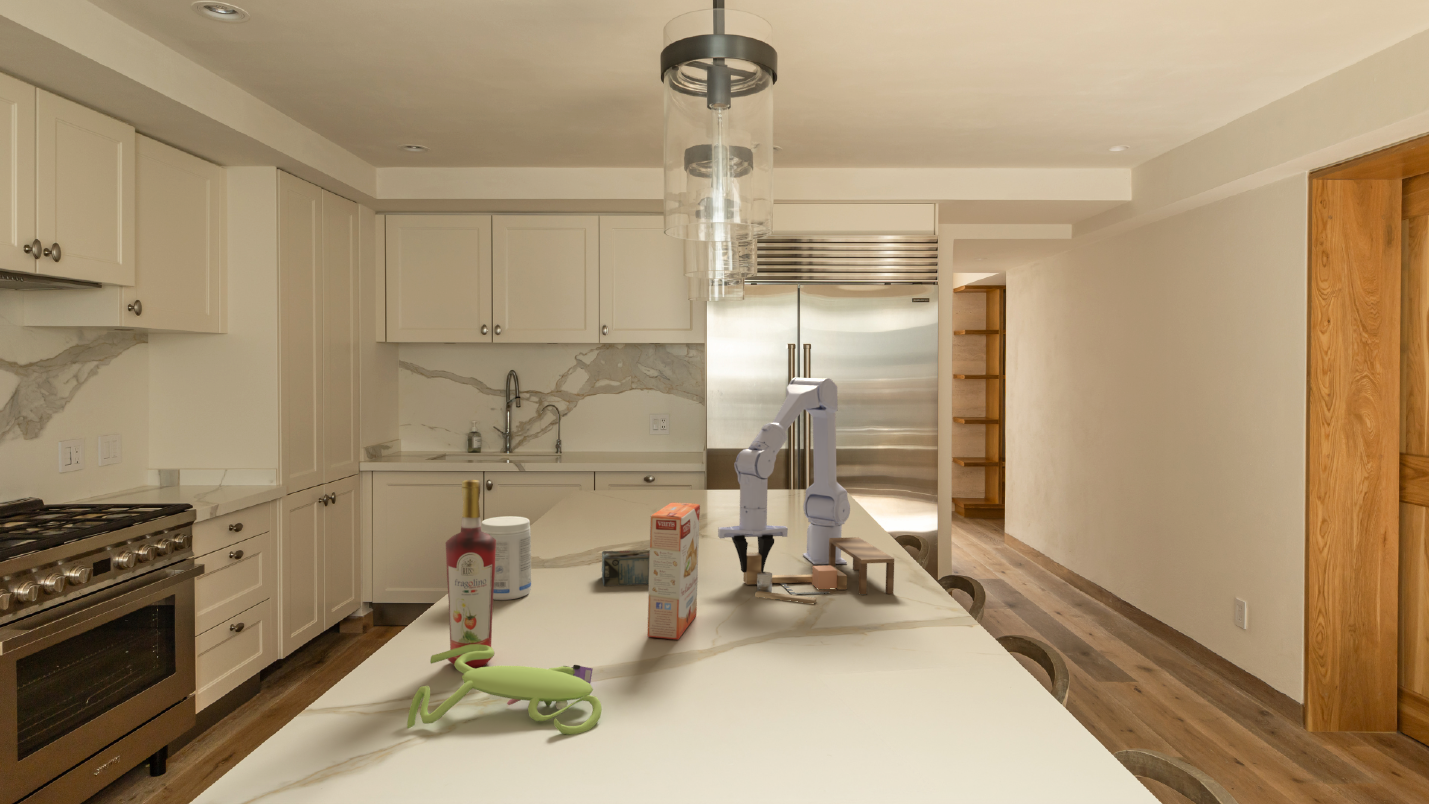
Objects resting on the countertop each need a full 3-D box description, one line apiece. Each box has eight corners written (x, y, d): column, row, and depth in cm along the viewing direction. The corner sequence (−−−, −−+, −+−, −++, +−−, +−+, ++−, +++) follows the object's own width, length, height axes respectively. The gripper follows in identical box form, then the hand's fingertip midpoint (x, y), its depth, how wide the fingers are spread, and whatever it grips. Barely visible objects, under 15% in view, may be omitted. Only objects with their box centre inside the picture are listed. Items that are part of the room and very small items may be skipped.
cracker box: (681, 641, 136) (683, 516, 135) (646, 638, 137) (647, 514, 136) (699, 615, 149) (701, 502, 148) (667, 613, 151) (669, 500, 149)
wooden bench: (828, 569, 184) (829, 538, 184) (857, 568, 185) (858, 537, 185) (860, 594, 164) (861, 559, 164) (893, 593, 166) (894, 558, 165)
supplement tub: (518, 584, 168) (518, 513, 167) (539, 595, 160) (540, 521, 160) (472, 592, 162) (472, 519, 161) (492, 604, 154) (493, 527, 153)
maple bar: (757, 596, 164) (758, 590, 164) (816, 604, 159) (816, 598, 159) (755, 599, 162) (755, 593, 162) (813, 606, 158) (814, 600, 158)
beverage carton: (600, 577, 175) (601, 547, 175) (689, 574, 179) (689, 545, 179) (602, 587, 168) (602, 555, 167) (694, 584, 171) (695, 553, 171)
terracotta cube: (812, 584, 171) (812, 566, 171) (830, 584, 172) (830, 565, 172) (818, 590, 168) (818, 570, 167) (836, 589, 168) (837, 570, 168)
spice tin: (755, 591, 166) (755, 571, 166) (769, 590, 166) (770, 571, 166) (759, 595, 163) (759, 575, 163) (773, 595, 164) (773, 575, 163)
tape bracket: (775, 579, 175) (775, 578, 175) (811, 577, 177) (811, 576, 177) (791, 595, 163) (791, 594, 163) (829, 593, 165) (829, 592, 165)
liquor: (444, 675, 120) (444, 485, 118) (446, 657, 127) (446, 478, 125) (496, 671, 122) (496, 484, 120) (495, 653, 129) (496, 477, 127)
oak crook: (832, 578, 176) (833, 551, 176) (846, 589, 168) (847, 560, 168) (743, 580, 172) (744, 552, 172) (753, 591, 164) (753, 561, 164)
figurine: (442, 674, 121) (442, 637, 121) (620, 682, 119) (621, 644, 119) (383, 730, 103) (383, 687, 102) (592, 741, 101) (593, 696, 100)
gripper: (723, 510, 165) (722, 577, 166) (792, 509, 168) (790, 574, 169) (716, 504, 172) (715, 568, 173) (782, 503, 175) (781, 566, 176)
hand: (752, 571), depth 171 cm, fingers closed on oak crook, 3 cm apart
